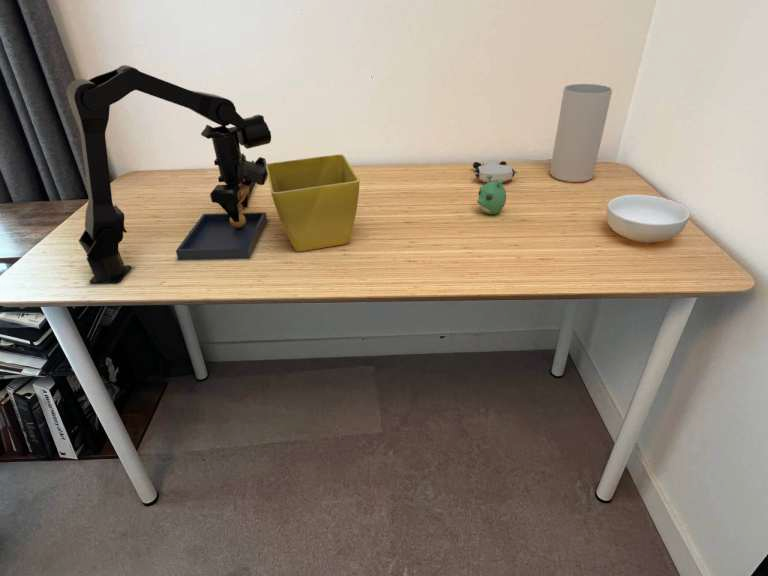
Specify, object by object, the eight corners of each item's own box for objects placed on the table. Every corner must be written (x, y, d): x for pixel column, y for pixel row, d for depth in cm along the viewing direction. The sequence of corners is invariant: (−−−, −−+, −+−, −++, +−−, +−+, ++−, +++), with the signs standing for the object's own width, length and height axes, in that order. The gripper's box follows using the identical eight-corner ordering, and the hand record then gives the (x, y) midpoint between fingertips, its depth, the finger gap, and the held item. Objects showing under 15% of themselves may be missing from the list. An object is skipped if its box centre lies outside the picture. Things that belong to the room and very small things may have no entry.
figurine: (236, 220, 126) (228, 176, 119) (258, 221, 125) (252, 177, 119) (226, 234, 119) (217, 188, 112) (250, 235, 118) (243, 189, 112)
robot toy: (468, 172, 153) (475, 186, 140) (469, 158, 151) (476, 171, 138) (506, 171, 152) (517, 185, 139) (508, 157, 150) (519, 170, 137)
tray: (249, 258, 110) (247, 249, 109) (178, 260, 110) (175, 250, 109) (267, 220, 126) (266, 212, 125) (205, 222, 127) (203, 213, 125)
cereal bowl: (640, 214, 122) (648, 188, 118) (696, 243, 109) (707, 215, 105) (586, 227, 117) (592, 200, 113) (638, 259, 104) (647, 230, 100)
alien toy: (469, 211, 127) (472, 175, 121) (493, 205, 130) (496, 169, 124) (486, 221, 122) (489, 184, 116) (510, 215, 124) (514, 178, 119)
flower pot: (283, 262, 108) (271, 192, 99) (276, 226, 123) (265, 162, 114) (364, 248, 112) (360, 180, 103) (348, 215, 127) (343, 153, 118)
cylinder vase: (541, 171, 149) (554, 86, 135) (575, 166, 152) (592, 82, 138) (565, 185, 139) (582, 95, 125) (601, 179, 142) (622, 90, 128)
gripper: (253, 166, 103) (265, 230, 112) (270, 140, 119) (280, 198, 127) (202, 167, 103) (218, 231, 112) (226, 141, 119) (238, 199, 128)
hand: (241, 214), depth 120 cm, fingers closed on figurine, 8 cm apart
